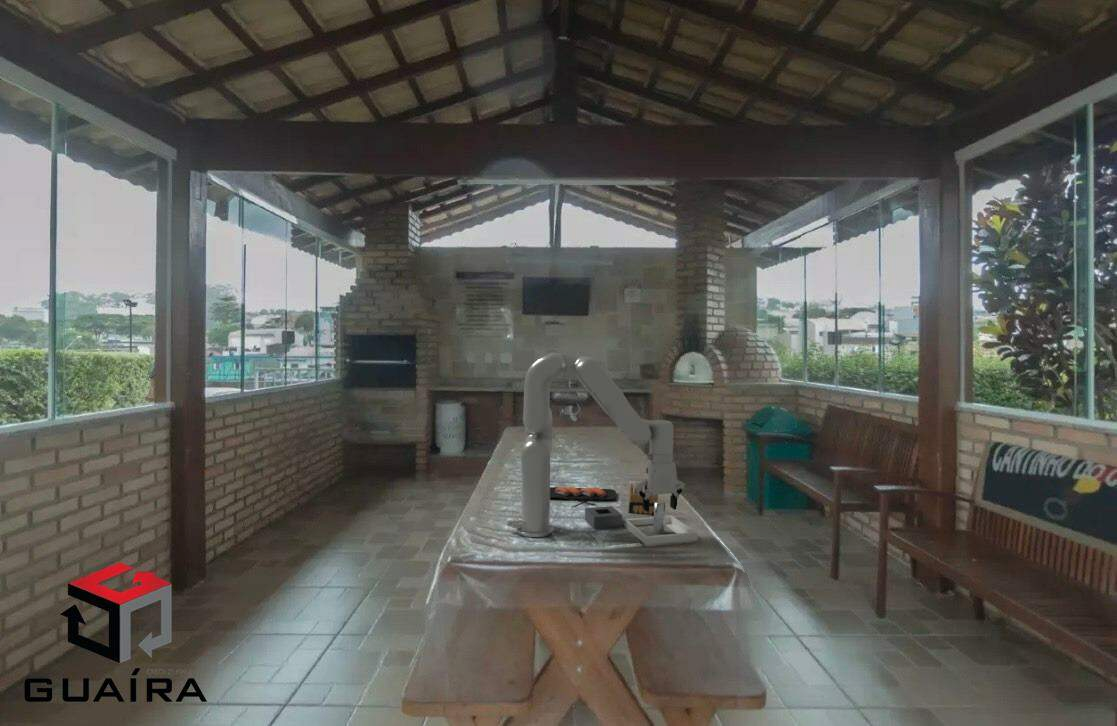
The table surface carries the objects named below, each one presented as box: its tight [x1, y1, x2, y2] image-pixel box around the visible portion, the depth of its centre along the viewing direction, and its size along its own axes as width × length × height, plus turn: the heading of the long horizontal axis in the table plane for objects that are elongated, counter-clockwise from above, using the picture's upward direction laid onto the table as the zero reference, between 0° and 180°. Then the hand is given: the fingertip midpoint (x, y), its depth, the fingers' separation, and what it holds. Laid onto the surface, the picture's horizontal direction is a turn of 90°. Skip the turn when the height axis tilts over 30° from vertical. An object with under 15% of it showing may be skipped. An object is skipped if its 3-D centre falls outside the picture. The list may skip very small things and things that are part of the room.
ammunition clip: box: [628, 482, 659, 517], centre depth 212 cm, size 11×2×12 cm, turn 83°
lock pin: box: [653, 500, 666, 535], centre depth 192 cm, size 4×4×10 cm
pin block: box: [584, 505, 623, 530], centre depth 201 cm, size 10×10×5 cm
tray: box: [623, 515, 698, 548], centre depth 192 cm, size 18×18×3 cm
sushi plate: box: [550, 486, 617, 508], centre depth 229 cm, size 29×30×4 cm
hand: (659, 509), depth 192 cm, fingers open, 9 cm apart
